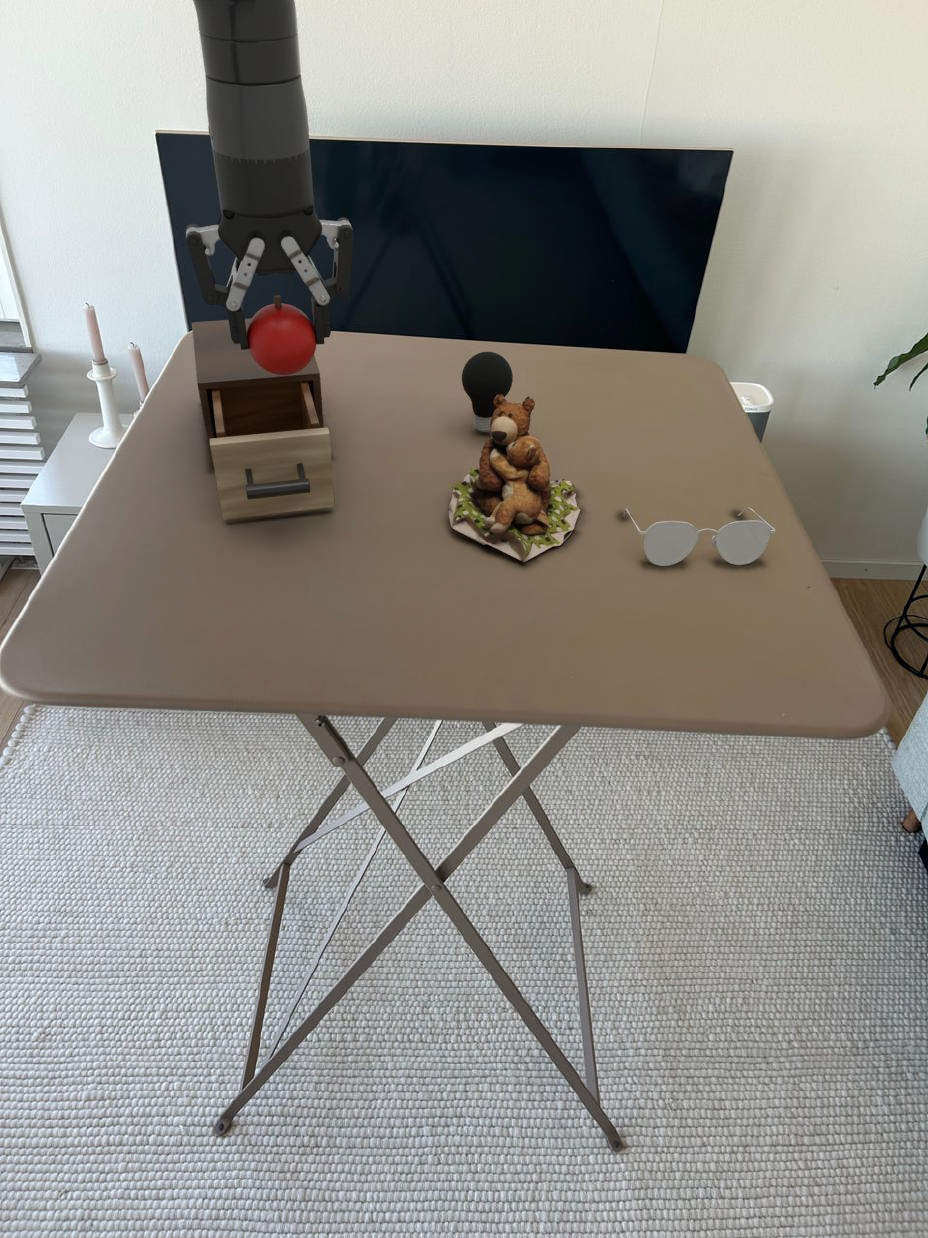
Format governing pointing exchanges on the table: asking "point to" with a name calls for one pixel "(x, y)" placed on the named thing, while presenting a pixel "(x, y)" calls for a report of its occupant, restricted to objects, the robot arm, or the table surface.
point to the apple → (281, 338)
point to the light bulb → (486, 385)
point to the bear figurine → (513, 490)
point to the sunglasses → (732, 540)
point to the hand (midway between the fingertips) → (282, 342)
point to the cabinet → (237, 370)
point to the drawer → (270, 450)
